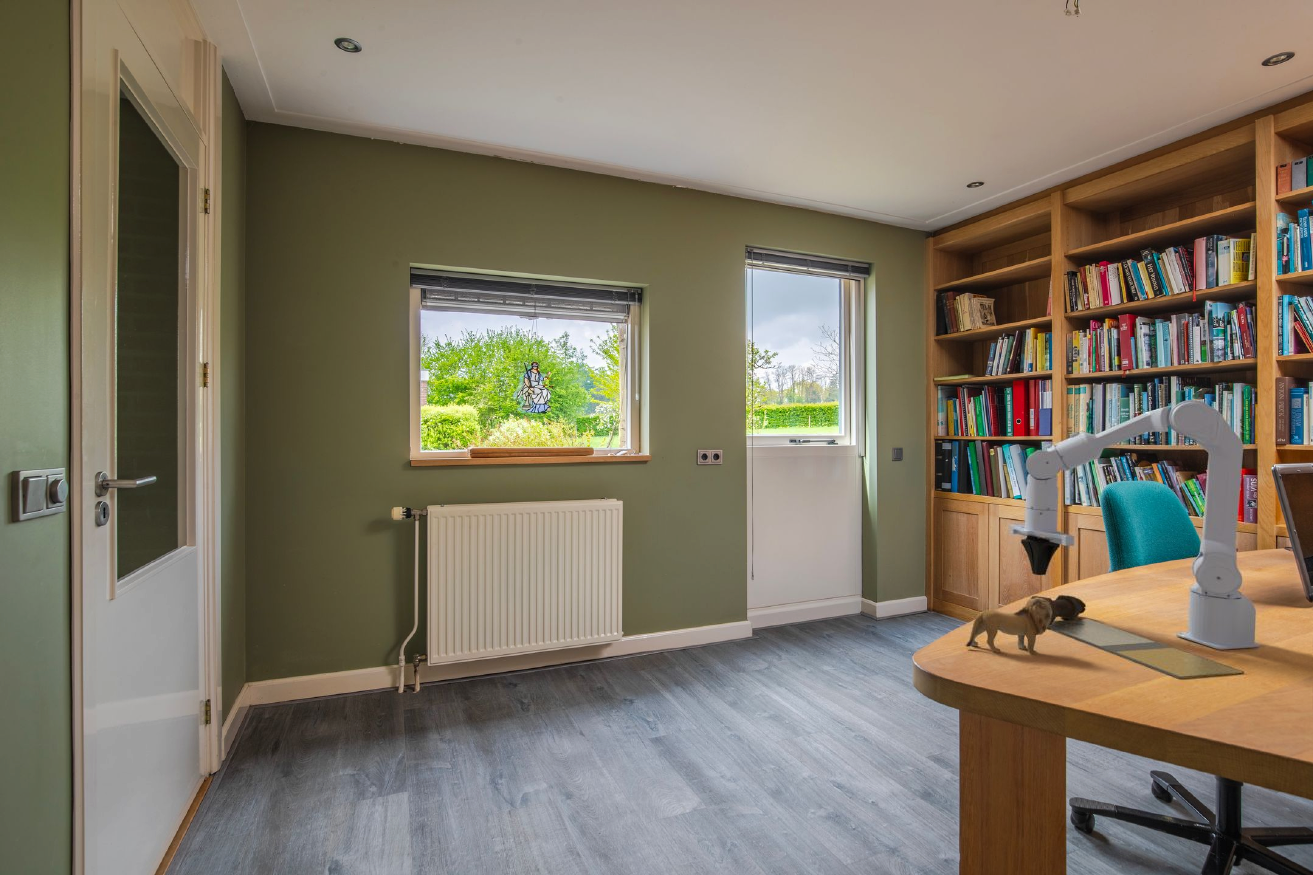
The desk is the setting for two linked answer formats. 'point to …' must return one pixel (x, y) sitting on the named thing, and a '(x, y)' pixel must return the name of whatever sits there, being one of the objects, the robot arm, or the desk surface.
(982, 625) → the lion figurine
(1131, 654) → the flat rectangular plate
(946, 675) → the desk surface
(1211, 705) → the desk surface
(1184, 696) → the desk surface
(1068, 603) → the bolt
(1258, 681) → the desk surface
